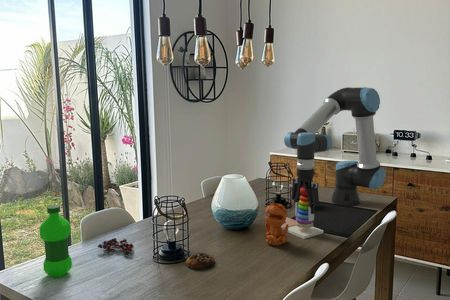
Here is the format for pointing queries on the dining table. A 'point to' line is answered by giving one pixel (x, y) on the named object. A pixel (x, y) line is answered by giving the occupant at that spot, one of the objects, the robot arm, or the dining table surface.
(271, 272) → the dining table surface
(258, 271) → the dining table surface
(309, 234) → the cream tile
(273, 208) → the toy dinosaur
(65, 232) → the plastic bottle
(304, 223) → the stacking toy
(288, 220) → the terracotta tile
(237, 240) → the dining table surface
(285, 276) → the dining table surface
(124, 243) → the grape bunch
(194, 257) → the bread roll
